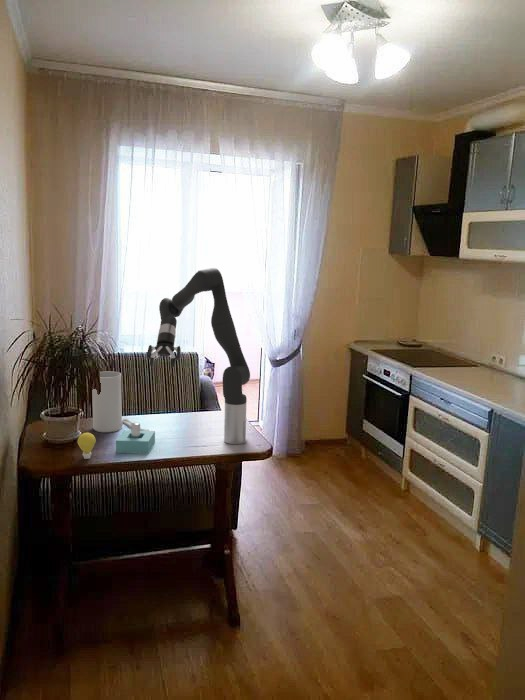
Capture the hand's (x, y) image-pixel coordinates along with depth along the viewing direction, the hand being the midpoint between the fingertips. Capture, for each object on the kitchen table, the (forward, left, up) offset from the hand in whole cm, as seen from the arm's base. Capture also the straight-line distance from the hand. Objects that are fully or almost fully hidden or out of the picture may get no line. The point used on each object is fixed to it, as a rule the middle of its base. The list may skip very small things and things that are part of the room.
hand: (162, 366), depth 241 cm
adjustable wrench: (+13, -9, -31) cm, 35 cm away
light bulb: (+24, +29, -31) cm, 48 cm away
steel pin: (+8, +16, -31) cm, 35 cm away
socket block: (+8, +16, -31) cm, 35 cm away
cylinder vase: (+26, -7, -31) cm, 41 cm away
